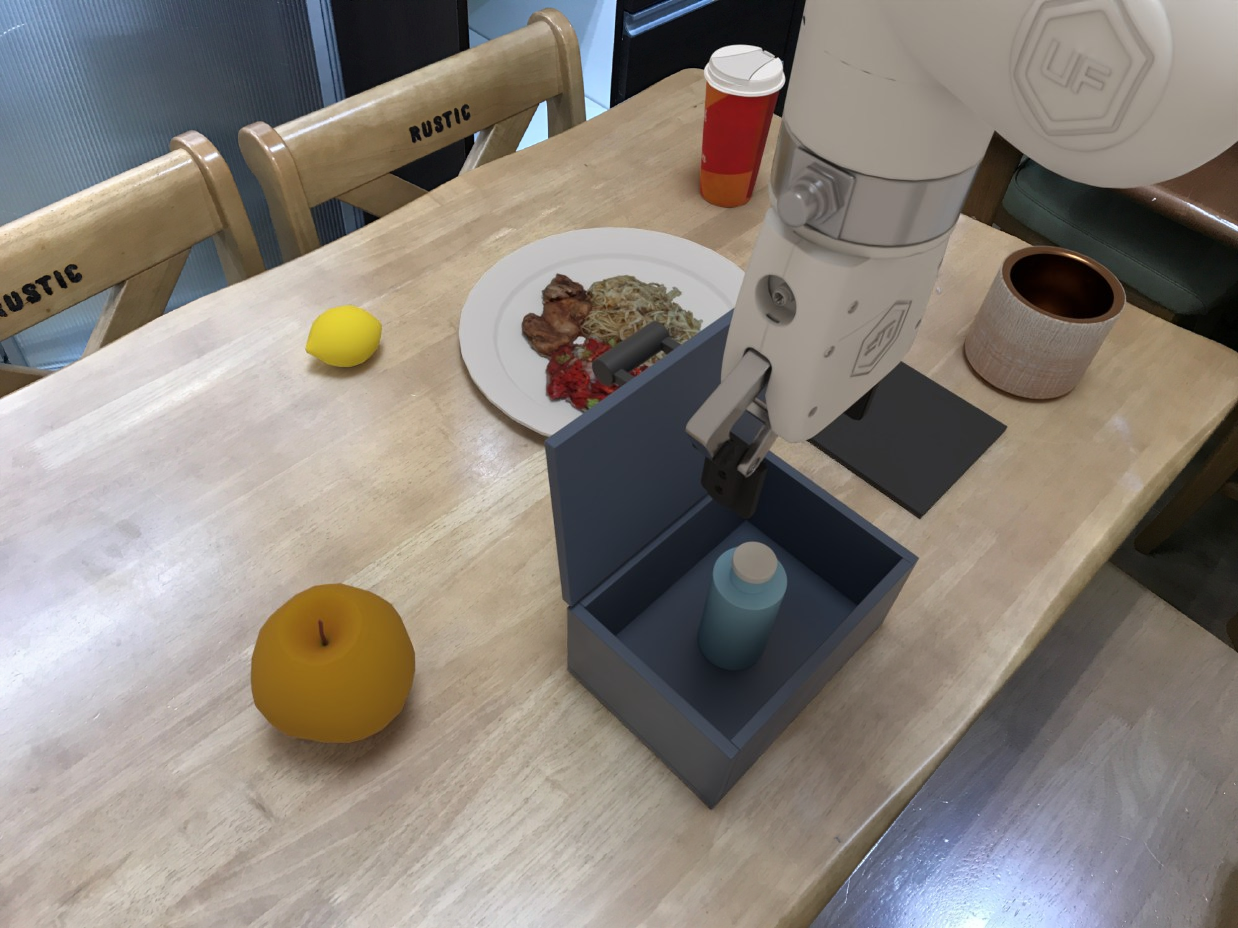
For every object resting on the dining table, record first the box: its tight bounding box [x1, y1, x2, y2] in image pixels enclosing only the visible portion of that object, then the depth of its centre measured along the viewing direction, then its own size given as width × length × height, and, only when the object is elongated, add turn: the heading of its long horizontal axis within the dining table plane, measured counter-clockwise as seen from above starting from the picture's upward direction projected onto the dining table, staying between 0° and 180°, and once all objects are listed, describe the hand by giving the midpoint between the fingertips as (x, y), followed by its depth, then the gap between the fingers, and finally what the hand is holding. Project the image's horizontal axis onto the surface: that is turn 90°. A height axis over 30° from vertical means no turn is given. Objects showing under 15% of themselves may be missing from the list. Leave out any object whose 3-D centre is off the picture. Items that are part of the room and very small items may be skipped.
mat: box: [807, 360, 1008, 519], centre depth 78 cm, size 15×14×1 cm
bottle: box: [698, 542, 787, 670], centre depth 60 cm, size 5×5×11 cm
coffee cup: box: [699, 44, 786, 208], centre depth 94 cm, size 8×8×15 cm
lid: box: [544, 307, 767, 606], centre depth 56 cm, size 14×20×5 cm
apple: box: [250, 582, 416, 744], centre depth 56 cm, size 10×10×12 cm
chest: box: [566, 449, 920, 810], centre depth 61 cm, size 14×20×9 cm
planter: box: [964, 245, 1127, 400], centre depth 81 cm, size 11×11×10 cm
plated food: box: [458, 226, 745, 438], centre depth 83 cm, size 30×30×3 cm
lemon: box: [304, 304, 383, 368], centre depth 79 cm, size 7×5×5 cm
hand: (785, 450), depth 47 cm, fingers open, 9 cm apart
